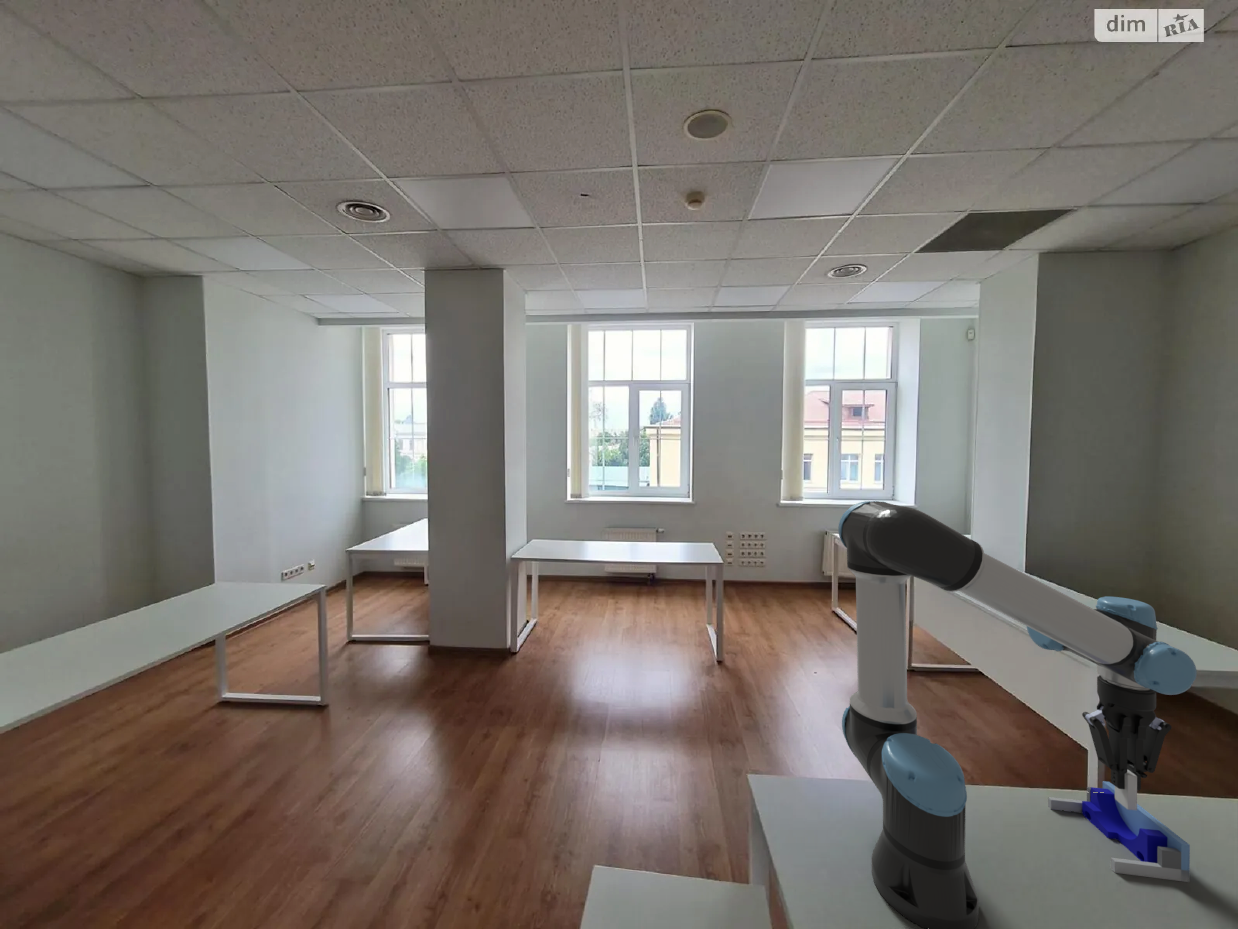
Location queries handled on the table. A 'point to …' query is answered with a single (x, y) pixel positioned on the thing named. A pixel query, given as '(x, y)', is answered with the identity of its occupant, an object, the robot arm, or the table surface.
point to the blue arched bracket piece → (1121, 826)
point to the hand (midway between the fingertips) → (1125, 804)
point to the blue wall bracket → (1169, 859)
